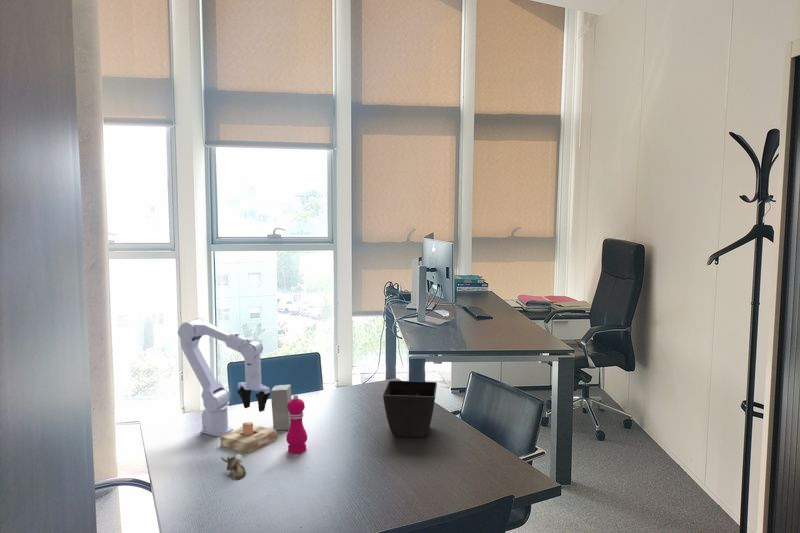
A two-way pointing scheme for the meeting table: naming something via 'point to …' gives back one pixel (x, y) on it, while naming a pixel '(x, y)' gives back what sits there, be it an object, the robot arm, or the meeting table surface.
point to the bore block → (248, 439)
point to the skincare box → (281, 406)
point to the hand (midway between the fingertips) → (254, 409)
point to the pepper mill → (296, 426)
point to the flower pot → (409, 407)
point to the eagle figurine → (235, 467)
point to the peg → (248, 429)
